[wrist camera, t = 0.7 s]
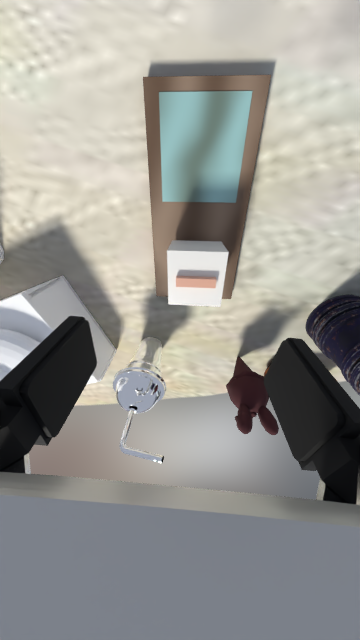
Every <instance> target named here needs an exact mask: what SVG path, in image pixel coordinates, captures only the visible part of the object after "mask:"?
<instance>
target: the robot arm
mask: <svg viewBox="0 0 360 640" xmlns="http://www.w3.org/2000/svg"><path fill="white" fill-rule="evenodd" d="M96 366H97V358H96V354H95V349H94V344H93V339H92V335H91V330H90V325H89V322H88V321H87V320H85V318H84V317H80V316H69V317H68V318H67V319H66V320H64V321H63V322H62V323H61V324H60V325H59V326H58V327H57V328H56V329H55V330H54V331H53V332H52V333H51V334H50V335H49V336H47V337H46V338H45V339H44V340H43V341H42V342H41V343H40V344H39V345H38V346H37V347H36V348H35V349H34V350H33V351H31V352H30V353H29V354H28V355H27V356H26V357H25V358H24V359H23V360H22V361H21V362H20V363H19V364H18V365H17V366H16V367H14V368H13V369H12V370H11V371H10V372H9V373H8V374H7V375H6V376H5V377H4V378H3V379H2V380H1V381H0V640H360V409H359V407H358V406H357V405H356V404H355V403H354V401H353V400H352V399H351V398H350V397H349V395H348V394H347V393H346V392H345V390H344V389H343V388H342V387H341V386H340V384H339V383H338V382H337V381H336V379H335V378H334V377H333V376H332V375H331V373H330V372H329V371H328V370H327V368H326V367H325V366H324V365H323V364H322V362H321V361H320V360H319V359H318V358H317V356H316V355H315V354H314V353H313V351H312V350H311V349H310V348H309V347H308V345H307V344H306V343H305V342H304V341H303V340H302V339H296V338H287V339H286V340H285V341H283V342H282V343H281V345H280V347H279V349H278V351H277V353H276V355H275V357H274V359H273V361H272V363H271V365H270V367H269V369H268V371H267V373H266V375H265V377H264V385H265V388H266V390H267V393H268V395H269V398H270V400H271V402H272V405H273V407H274V410H275V413H276V415H277V417H278V420H279V422H280V425H281V427H282V430H283V432H284V435H285V437H286V440H287V442H288V444H289V447H290V449H291V452H292V454H293V456H294V458H295V459H296V460H297V461H298V462H299V464H300V466H301V468H302V470H310V471H316V470H317V471H318V473H319V475H320V481H319V486H318V491H317V496H316V500H313V499H302V498H292V497H282V496H271V495H261V494H251V493H241V492H230V491H220V490H209V489H199V488H188V487H177V486H166V485H155V484H145V483H133V482H122V481H110V480H100V479H88V478H76V477H65V476H53V475H39V474H31V472H30V461H29V451H30V450H31V448H32V447H33V445H34V444H36V445H46V446H47V445H48V444H49V442H50V440H51V438H52V437H55V436H56V435H58V433H59V431H60V430H61V428H62V426H63V424H64V423H65V421H66V419H67V417H68V416H69V414H70V412H71V410H72V409H73V407H74V405H75V403H76V402H77V400H78V398H79V396H80V395H81V393H82V391H83V389H84V388H85V386H86V384H87V382H88V381H89V379H90V377H91V375H92V374H93V372H94V370H95V368H96Z"/></svg>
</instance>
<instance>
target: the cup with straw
mask: <svg viewBox="0 0 360 640" xmlns="http://www.w3.org/2000/svg"><path fill="white" fill-rule="evenodd" d="M161 367H162V343H161V342H160V341H159V340H158V339H156V338H154V337H146V338H144V339H143V340H142V341H141V343H140V345H139V346H138V348H137V350H136V351H135V353H134V355H133V357H132V358H131V360H130V362H129V363H128V364H127V366H126V367H125V368H124V369H122V370H120V371H119V372H118V373H116V375H115V377H114V380H113V388H114V390H115V392H116V398H117V401H118V403H119V405H120V406H121V407H122V408H123V409H124V410H126V411H128V412H129V415H128V418H127V421H126V424H125V427H124V431H123V434H122V437H121V441H120V449H121V451H122V452H123V453H125V454H129V455H133V456H137V457H140V458H144V459H148V460H152V461H156V462H159V463H162V462H163V459H164V456H162V455H158V454H154V453H150V452H146V451H142V450H138V449H134V448H130V447H127V446H126V440H127V436H128V433H129V429H130V426H131V422H132V419H133V415H134V413H143V412H146V411H147V410H150V409H151V408H152V407H153V406H154V405H155V404H156V402H158V401H159V400H161V399H162V398H163V396H164V393H165V391H166V384H165V382H164V380H163V379H162V372H161Z"/></svg>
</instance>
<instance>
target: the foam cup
mask: <svg viewBox="0 0 360 640" xmlns="http://www.w3.org/2000/svg"><path fill="white" fill-rule="evenodd" d="M3 260H4V250H3V248H2V246H1V244H0V264H1V262H2V261H3Z"/></svg>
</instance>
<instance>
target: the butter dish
mask: <svg viewBox="0 0 360 640" xmlns="http://www.w3.org/2000/svg"><path fill="white" fill-rule="evenodd" d="M69 316H80V317H84V318H85V320H87V321H88V322H89V325H90V330H91V335H92V339H93V344H94V349H95V354H96V358H97V366H96V368H95V370H94V372H93V374H92V375H91V377H90V379H89V381H88V382H87V384H90V383H95V382H98V381H101V380H102V379H103V377H104V375H105V373H106V371H107V369H108V367H109V365H110V363H111V361H112V359H113V357H114V355H115V353H116V351H117V350H116V349H115V347H114V346H113V344H112V343H111V341H110V340H109V339H108V337H107V336H106V334H105V333H104V332H103V330H102V329H101V327H100V326H99V325H98V323H97V322H96V320H95V319H94V318H93V316H92V315H91V313H90V312H89V311H88V309H87V308H86V306H85V305H84V303H83V302H82V301H81V299H80V298H79V296H78V295H77V294H76V292H75V291H74V289H73V288H72V287H71V285H70V284H69V282H68V281H67V280H66V278H65V277H64V275H62V276H59V277H57V278H54V279H52V280H50V281H47V282H45V283H42V284H40V285H37V286H35V287H32V288H30V289H27V290H25V291H22V292H20V293H17V294H15V295H12V296H10V297H7V298H5V299H2V300H0V381H1V380H2V379H3V378H4V377H5V376H6V375H7V374H8V373H9V372H10V371H11V370H12V369H13V368H14V367H16V366H17V365H18V364H19V363H20V362H21V361H22V360H23V359H24V358H25V357H26V356H27V355H28V354H29V353H30V352H31V351H33V350H34V349H35V348H36V347H37V346H38V345H39V344H40V343H41V342H42V341H43V340H44V339H45V338H46V337H47V336H49V335H50V334H51V333H52V332H53V331H54V330H55V329H56V328H57V327H58V326H59V325H60V324H61V323H62V322H63V321H64V320H66V319H67V318H68V317H69Z"/></svg>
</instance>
